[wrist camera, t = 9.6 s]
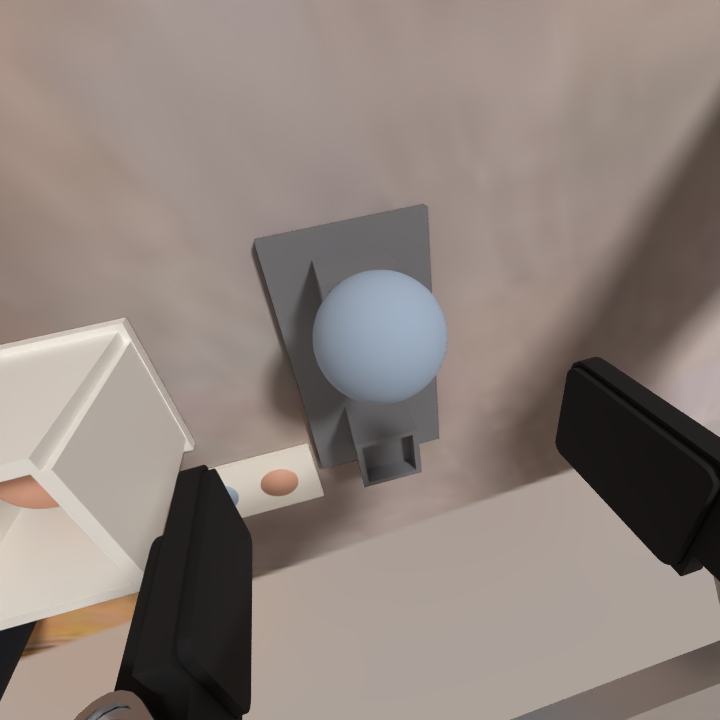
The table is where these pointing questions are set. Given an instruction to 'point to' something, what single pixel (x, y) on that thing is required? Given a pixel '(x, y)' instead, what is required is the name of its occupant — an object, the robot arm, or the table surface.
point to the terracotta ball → (26, 493)
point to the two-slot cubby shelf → (83, 468)
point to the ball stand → (296, 320)
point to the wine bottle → (12, 650)
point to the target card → (271, 480)
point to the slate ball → (380, 337)
